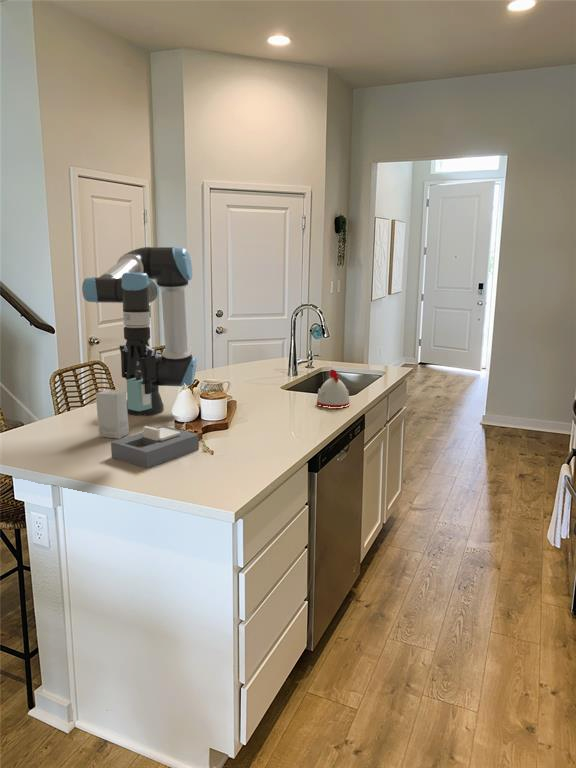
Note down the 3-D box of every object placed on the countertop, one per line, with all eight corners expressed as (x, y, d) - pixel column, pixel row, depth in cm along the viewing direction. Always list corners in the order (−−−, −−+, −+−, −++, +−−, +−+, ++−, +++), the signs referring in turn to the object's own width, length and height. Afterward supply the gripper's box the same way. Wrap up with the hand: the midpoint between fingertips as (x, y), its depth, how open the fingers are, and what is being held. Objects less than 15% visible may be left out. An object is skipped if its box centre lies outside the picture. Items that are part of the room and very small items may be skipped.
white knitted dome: (341, 400, 259) (342, 366, 256) (354, 407, 247) (356, 372, 244) (312, 401, 255) (313, 368, 252) (324, 409, 242) (325, 374, 239)
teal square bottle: (127, 408, 177) (126, 371, 174) (140, 405, 181) (139, 368, 178) (139, 411, 174) (137, 373, 171) (151, 408, 178) (150, 370, 175)
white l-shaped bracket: (141, 436, 185) (140, 426, 184) (162, 429, 192) (162, 419, 192) (159, 441, 180) (159, 430, 180) (181, 434, 188) (180, 424, 187)
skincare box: (129, 434, 205) (127, 390, 201) (118, 439, 199) (116, 395, 195) (109, 431, 207) (107, 388, 204) (97, 436, 201) (95, 392, 198)
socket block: (111, 457, 181) (110, 441, 180) (164, 440, 199) (163, 425, 198) (147, 468, 172) (146, 452, 171) (198, 449, 190) (198, 434, 189)
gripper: (106, 324, 174) (109, 400, 179) (148, 329, 164) (151, 410, 169) (126, 322, 180) (129, 396, 185) (168, 327, 170) (170, 405, 175)
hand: (139, 402), depth 177 cm, fingers closed on teal square bottle, 5 cm apart
